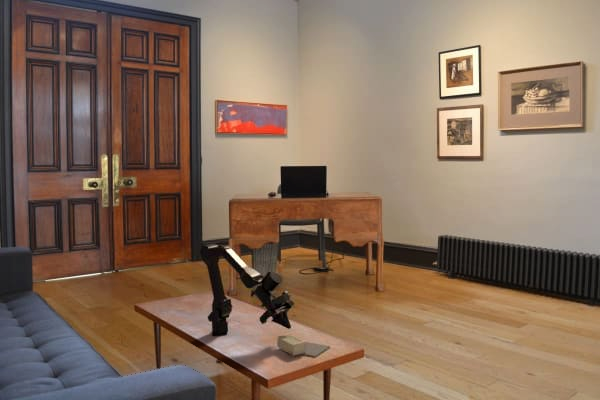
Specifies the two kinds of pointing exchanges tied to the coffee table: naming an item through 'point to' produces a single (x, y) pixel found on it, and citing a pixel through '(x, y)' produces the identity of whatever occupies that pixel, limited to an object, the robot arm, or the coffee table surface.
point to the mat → (314, 349)
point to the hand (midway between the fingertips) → (290, 328)
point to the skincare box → (291, 344)
